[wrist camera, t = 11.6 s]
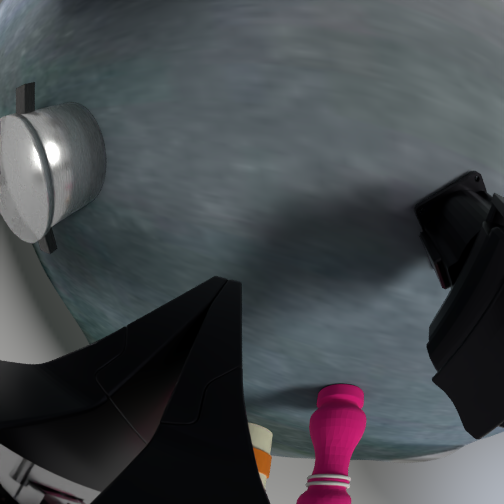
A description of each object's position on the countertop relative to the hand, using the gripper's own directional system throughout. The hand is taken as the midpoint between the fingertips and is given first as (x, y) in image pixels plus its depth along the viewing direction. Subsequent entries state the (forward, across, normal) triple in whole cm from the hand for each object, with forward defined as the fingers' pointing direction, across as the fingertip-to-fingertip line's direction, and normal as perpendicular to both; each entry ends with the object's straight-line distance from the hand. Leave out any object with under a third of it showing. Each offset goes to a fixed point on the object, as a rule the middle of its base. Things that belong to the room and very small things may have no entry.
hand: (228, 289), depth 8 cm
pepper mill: (+13, -12, +26) cm, 32 cm away
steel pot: (+13, +23, 0) cm, 27 cm away
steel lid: (+6, +26, 0) cm, 26 cm away
